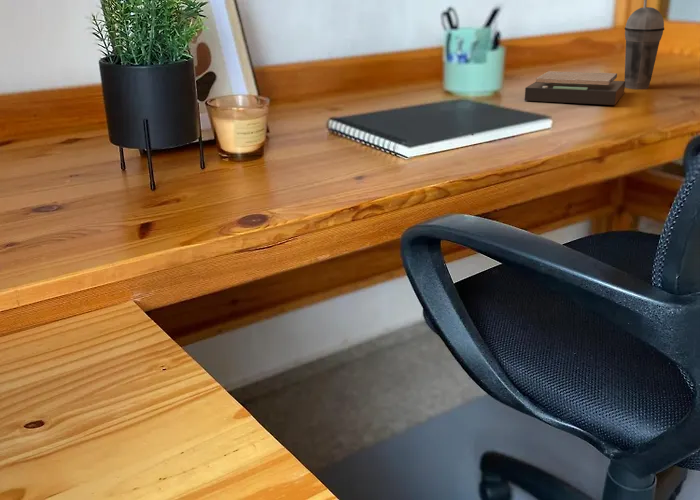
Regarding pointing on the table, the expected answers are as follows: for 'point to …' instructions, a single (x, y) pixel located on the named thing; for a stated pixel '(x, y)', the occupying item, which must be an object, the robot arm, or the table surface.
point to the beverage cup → (642, 46)
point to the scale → (575, 93)
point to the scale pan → (577, 78)
